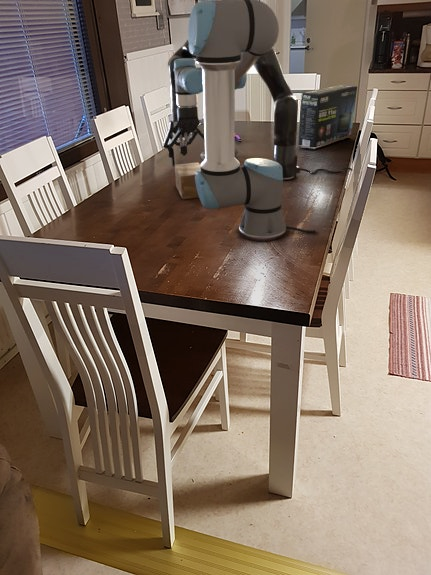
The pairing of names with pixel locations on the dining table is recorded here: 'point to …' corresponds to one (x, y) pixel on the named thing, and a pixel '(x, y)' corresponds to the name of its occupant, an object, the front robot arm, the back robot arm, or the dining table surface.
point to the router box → (326, 115)
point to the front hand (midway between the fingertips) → (190, 164)
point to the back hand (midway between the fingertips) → (183, 155)
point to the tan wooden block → (187, 179)
